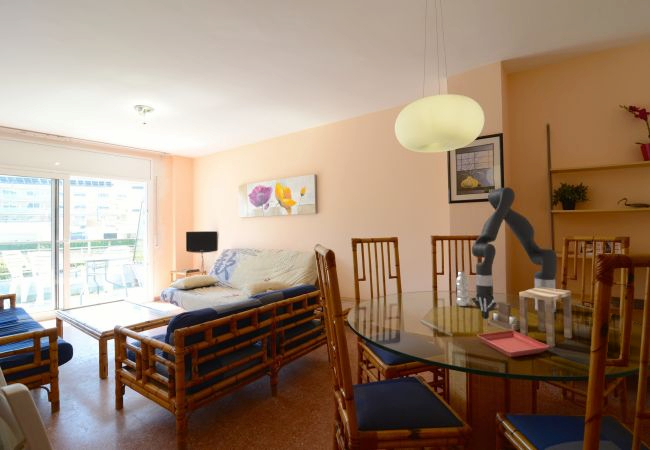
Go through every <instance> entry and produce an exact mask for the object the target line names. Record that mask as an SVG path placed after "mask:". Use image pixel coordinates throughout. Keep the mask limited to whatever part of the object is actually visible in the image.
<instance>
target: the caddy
mask: <svg viewBox="0 0 650 450" xmlns="http://www.w3.org/2000/svg"><path fill="white" fill-rule="evenodd" d="M511 310H512V309H511V303H507V302H502V301H500V302H498V312H496V311H495V312H493V316H492V317H489V318H488V319H487V326H490V327H493V328H497V329H500V328H501V330H503V331H508V330H509V331H510V330H513V331H516V330H518V331H520V330H519V329H520V320H518V317H517V316H515V315H511V312H512V311H511ZM516 332H517V331H516Z"/></svg>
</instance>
